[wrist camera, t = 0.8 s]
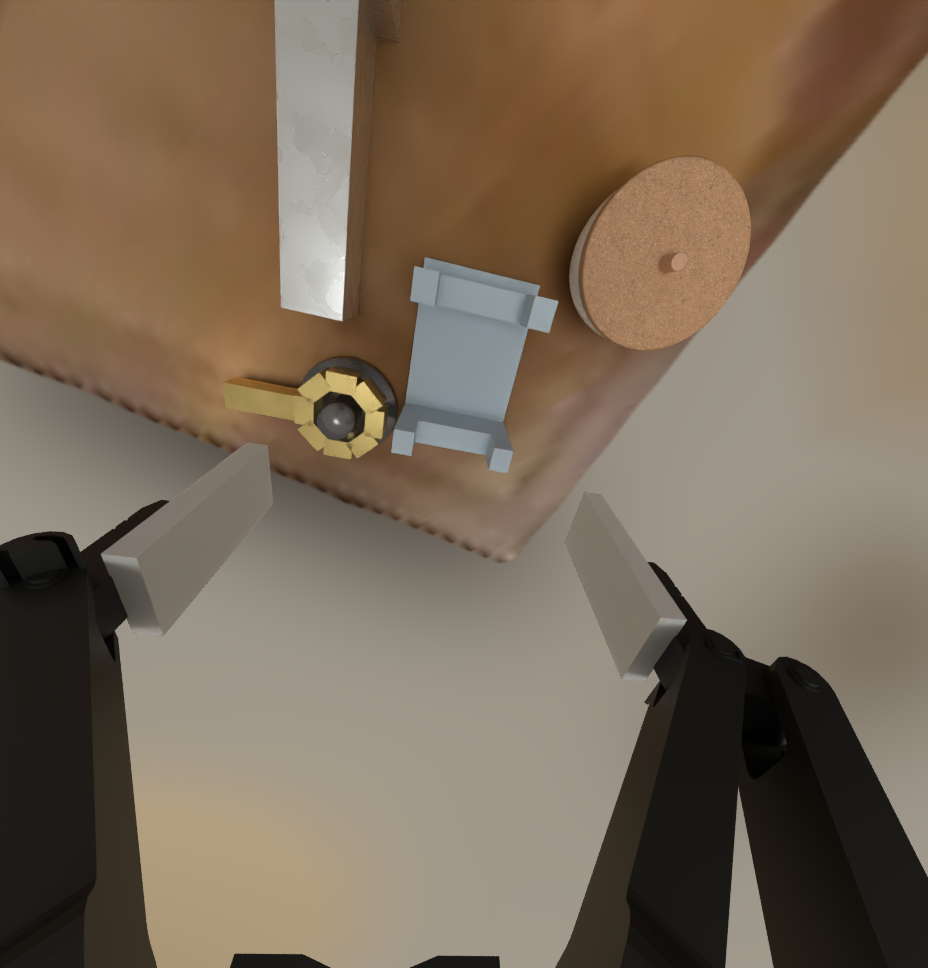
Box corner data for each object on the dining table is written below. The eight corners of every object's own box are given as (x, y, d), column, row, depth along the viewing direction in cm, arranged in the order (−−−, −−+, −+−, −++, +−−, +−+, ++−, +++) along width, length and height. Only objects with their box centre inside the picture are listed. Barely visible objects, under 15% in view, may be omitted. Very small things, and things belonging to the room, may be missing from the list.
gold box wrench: (392, 376, 32) (387, 383, 30) (383, 453, 36) (378, 464, 34) (235, 344, 31) (218, 349, 28) (242, 427, 34) (227, 437, 32)
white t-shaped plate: (283, -106, 21) (238, -212, 16) (408, -61, 22) (396, -151, 17) (288, 301, 31) (261, 302, 26) (374, 320, 31) (361, 325, 27)
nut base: (302, 347, 32) (275, 357, 27) (402, 368, 33) (394, 381, 28) (302, 439, 36) (279, 462, 31) (391, 455, 37) (382, 479, 33)
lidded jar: (578, 360, 33) (620, 383, 25) (533, 238, 29) (565, 217, 21) (695, 298, 31) (782, 301, 23) (666, 155, 27) (761, 94, 18)
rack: (425, 258, 29) (416, 247, 22) (537, 285, 30) (563, 284, 23) (402, 429, 36) (389, 463, 29) (494, 447, 37) (504, 483, 30)
